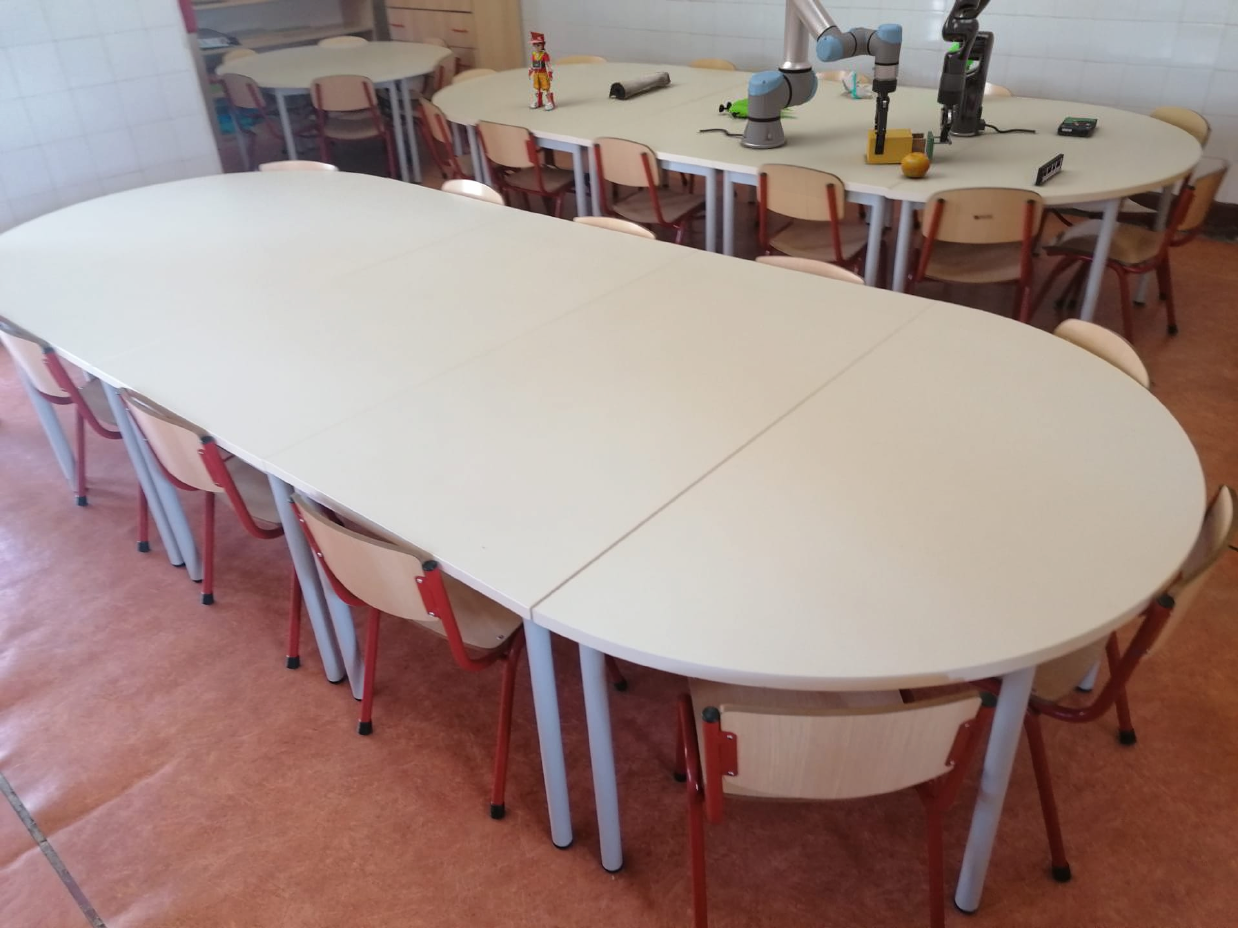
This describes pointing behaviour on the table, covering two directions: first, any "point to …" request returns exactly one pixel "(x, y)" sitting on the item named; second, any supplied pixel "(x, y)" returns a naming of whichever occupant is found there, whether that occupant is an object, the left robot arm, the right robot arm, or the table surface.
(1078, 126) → the disk drive
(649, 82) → the rolled mat
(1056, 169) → the midi keyboard
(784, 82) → the left robot arm
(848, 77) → the anatomical model
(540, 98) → the toy
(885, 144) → the cabinet
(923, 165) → the fruit
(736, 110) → the toy
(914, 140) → the drawer
